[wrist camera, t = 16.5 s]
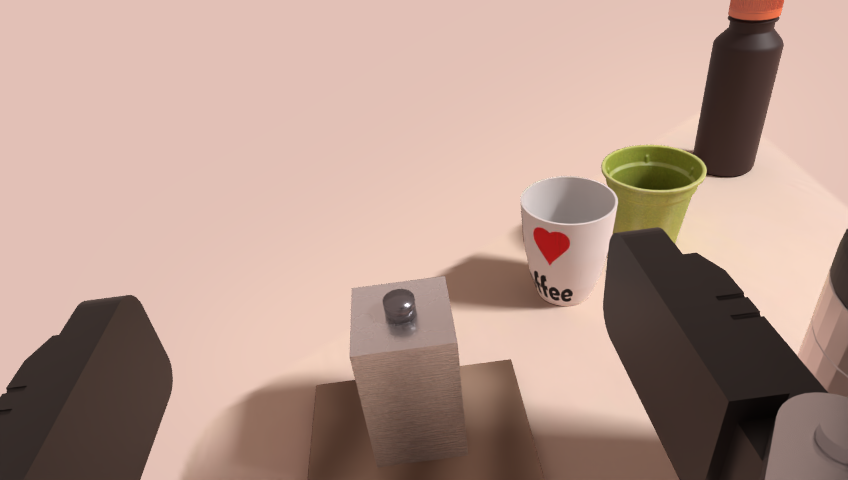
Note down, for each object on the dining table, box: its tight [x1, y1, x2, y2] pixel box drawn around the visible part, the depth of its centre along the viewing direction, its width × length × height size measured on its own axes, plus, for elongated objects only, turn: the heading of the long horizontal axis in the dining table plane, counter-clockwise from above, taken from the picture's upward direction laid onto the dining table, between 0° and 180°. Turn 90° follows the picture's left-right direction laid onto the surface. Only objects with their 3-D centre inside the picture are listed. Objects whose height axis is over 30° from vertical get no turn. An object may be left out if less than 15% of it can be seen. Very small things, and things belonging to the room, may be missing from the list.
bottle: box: [693, 0, 784, 177], centre depth 65 cm, size 7×7×20 cm
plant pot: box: [601, 145, 707, 244], centre depth 58 cm, size 9×9×9 cm
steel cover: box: [350, 276, 468, 468], centre depth 39 cm, size 6×6×12 cm
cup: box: [521, 176, 618, 306], centre depth 52 cm, size 8×8×10 cm
